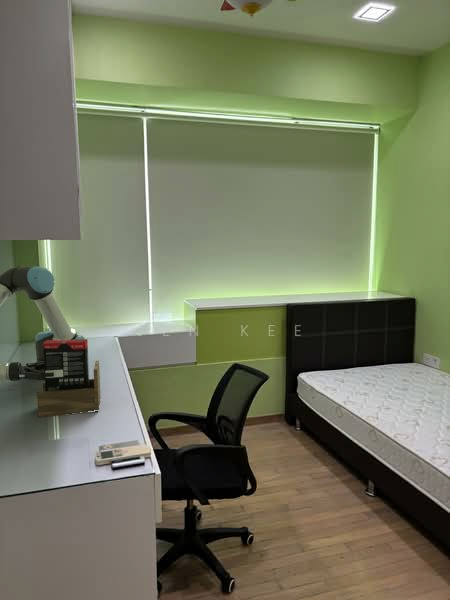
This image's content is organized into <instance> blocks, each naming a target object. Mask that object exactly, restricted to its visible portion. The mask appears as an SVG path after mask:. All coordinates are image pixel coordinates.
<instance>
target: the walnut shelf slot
mask: <svg viewBox="0 0 450 600" xmlns="http://www.w3.org/2000/svg"><path fill="white" fill-rule="evenodd" d="M94 363H95V364H94V366H93V378H89V388H85V389H72V390H58V391H45V381H44V382H42V391H36V399H37V402H36V403H37V417H38V418H45V417H55V416H58V415H59V416H66V415H65V414H70V415H73V414H72V413H80V412H88V411H94V410H99V411H100V408H99V405H100V406H101V401H100V399H102V398H101V396H102V395H101V376H100V373H101V372H100V360H95V362H94ZM59 416H58V417H59Z"/></svg>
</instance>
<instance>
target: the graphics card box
mask: <svg viewBox="0 0 450 600" xmlns="http://www.w3.org/2000/svg"><path fill="white" fill-rule="evenodd" d="M88 346H89V342H88V339H87V338H85V339H77V340H46V341H45V342H44V343H43V350H44V369H45V371H50V370H63V377H51V378H46V377H45V380H44V382H45V391H58V390H72V389H85V388H89V379H90V375H89V349H88V348H89V347H88Z"/></svg>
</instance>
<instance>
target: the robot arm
mask: <svg viewBox="0 0 450 600" xmlns="http://www.w3.org/2000/svg"><path fill="white" fill-rule="evenodd" d="M54 287H55V276H54V275H53V272H51V271H50V270H49V269H48V268H46V267H41V266H22V265H21V266H20V265H19V266H13V267H10V268H8V269H7V270H4V272H2V273H1V274H0V308H1V307H2V306H3V304H4V303H5V302H6V301H7V299H10V298H12V297H13V295H15V294H16V293H17V292H18V293H19V292H23V293H25V294H26V296H27V298H28V299H29V300H30V301H34V302H35V304H36V306H37V308H38V310H39V311H40V314H41V315H42V318H43V319H44V321H45V322H46V325H47V326H48V327H49V330H46V331H41V332H38V333H36V334H35V337H34V338H35V341H34V342H35V343H34V344H35V355H36V357H35V358H36V362H30V363H29V362H28V363H26V364H25V365H22V363H21V362H19V361H13V362H9V361H8V362H0V382H1V383H2V384H4V383H5V382H9V381H10V382H17V381H21V380H23V379H24V380H35V381H45V377H46V378H51V377H63V370H50V371H45V369H44V350H43V343H44V342H45V341H46V340H77V339H86V338H85V337H84V336H83V335H81V334H79V335H78V333H77V331H76V330H75V328H73V327H71V326H70V324H69V323H68V320H67V319H66V317H65V314H64V313H63V311H62V309H61V307H60V305H59V303H58V301H57V299H56V297H55V295H54V294H53V292H54Z"/></svg>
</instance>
